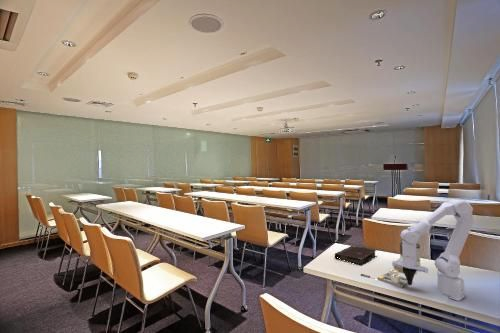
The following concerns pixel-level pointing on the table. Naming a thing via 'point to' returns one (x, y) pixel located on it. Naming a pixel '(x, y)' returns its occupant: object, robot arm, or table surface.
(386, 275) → the switch bank
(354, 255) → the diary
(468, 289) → the table surface
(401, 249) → the coffee can
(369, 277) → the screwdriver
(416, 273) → the ceramic mug
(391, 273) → the tab
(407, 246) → the robot arm
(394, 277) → the tab
